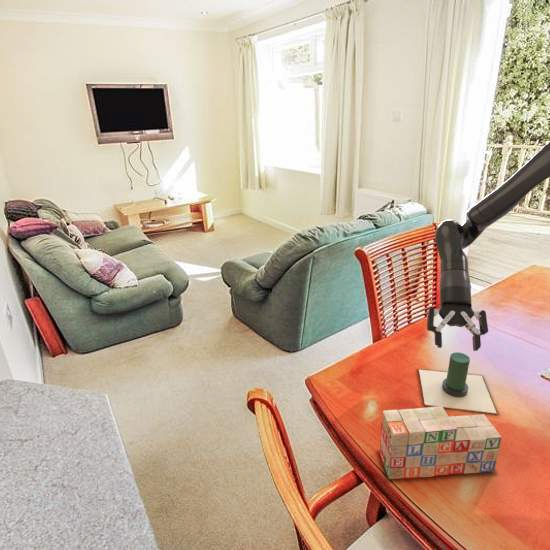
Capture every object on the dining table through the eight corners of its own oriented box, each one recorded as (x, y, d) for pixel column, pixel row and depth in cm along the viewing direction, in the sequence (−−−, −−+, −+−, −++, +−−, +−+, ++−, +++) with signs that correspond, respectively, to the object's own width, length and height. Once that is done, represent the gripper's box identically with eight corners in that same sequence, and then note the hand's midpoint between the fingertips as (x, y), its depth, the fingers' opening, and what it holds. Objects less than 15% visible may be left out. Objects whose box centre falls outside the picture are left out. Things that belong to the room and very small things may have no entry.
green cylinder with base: (464, 383, 99) (470, 351, 95) (469, 398, 93) (476, 366, 89) (440, 380, 100) (445, 349, 96) (444, 395, 95) (449, 363, 91)
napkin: (481, 376, 101) (481, 375, 101) (496, 413, 89) (496, 413, 89) (418, 370, 105) (418, 369, 105) (424, 405, 92) (424, 404, 92)
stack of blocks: (477, 446, 80) (487, 402, 76) (494, 472, 75) (506, 425, 70) (378, 453, 80) (382, 409, 75) (388, 480, 74) (392, 433, 70)
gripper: (479, 295, 103) (483, 354, 98) (425, 292, 107) (425, 349, 101) (488, 286, 96) (492, 348, 91) (429, 283, 100) (430, 343, 94)
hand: (457, 348), depth 96 cm, fingers open, 8 cm apart
